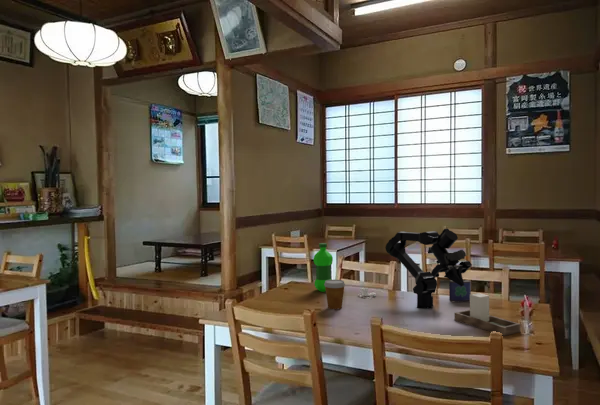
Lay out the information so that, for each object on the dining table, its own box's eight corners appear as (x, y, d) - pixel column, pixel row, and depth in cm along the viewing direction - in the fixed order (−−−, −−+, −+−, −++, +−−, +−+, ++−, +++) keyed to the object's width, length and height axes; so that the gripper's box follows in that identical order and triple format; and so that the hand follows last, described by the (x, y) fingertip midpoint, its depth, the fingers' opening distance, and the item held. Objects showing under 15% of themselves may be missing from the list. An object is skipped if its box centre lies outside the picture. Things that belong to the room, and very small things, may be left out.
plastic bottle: (337, 290, 236) (336, 243, 236) (324, 293, 229) (324, 245, 228) (322, 287, 243) (321, 242, 242) (310, 291, 235) (309, 244, 234)
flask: (469, 300, 211) (469, 276, 211) (472, 301, 208) (471, 277, 207) (448, 300, 211) (448, 276, 211) (450, 302, 208) (450, 277, 208)
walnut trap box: (454, 320, 180) (454, 312, 180) (470, 316, 184) (469, 309, 184) (504, 336, 160) (504, 327, 159) (520, 331, 164) (520, 323, 164)
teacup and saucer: (377, 296, 223) (377, 288, 223) (371, 299, 217) (370, 291, 217) (361, 294, 228) (361, 286, 228) (354, 297, 221) (354, 289, 221)
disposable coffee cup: (348, 306, 204) (347, 280, 203) (341, 311, 195) (340, 284, 195) (328, 304, 208) (328, 278, 207) (321, 309, 199) (320, 282, 199)
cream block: (469, 319, 175) (469, 294, 175) (478, 317, 178) (478, 293, 177) (480, 323, 171) (480, 297, 171) (489, 321, 173) (489, 295, 173)
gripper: (436, 245, 181) (457, 276, 172) (468, 241, 190) (490, 271, 180) (422, 261, 188) (442, 292, 179) (453, 257, 197) (474, 287, 188)
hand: (462, 285), depth 181 cm, fingers closed
